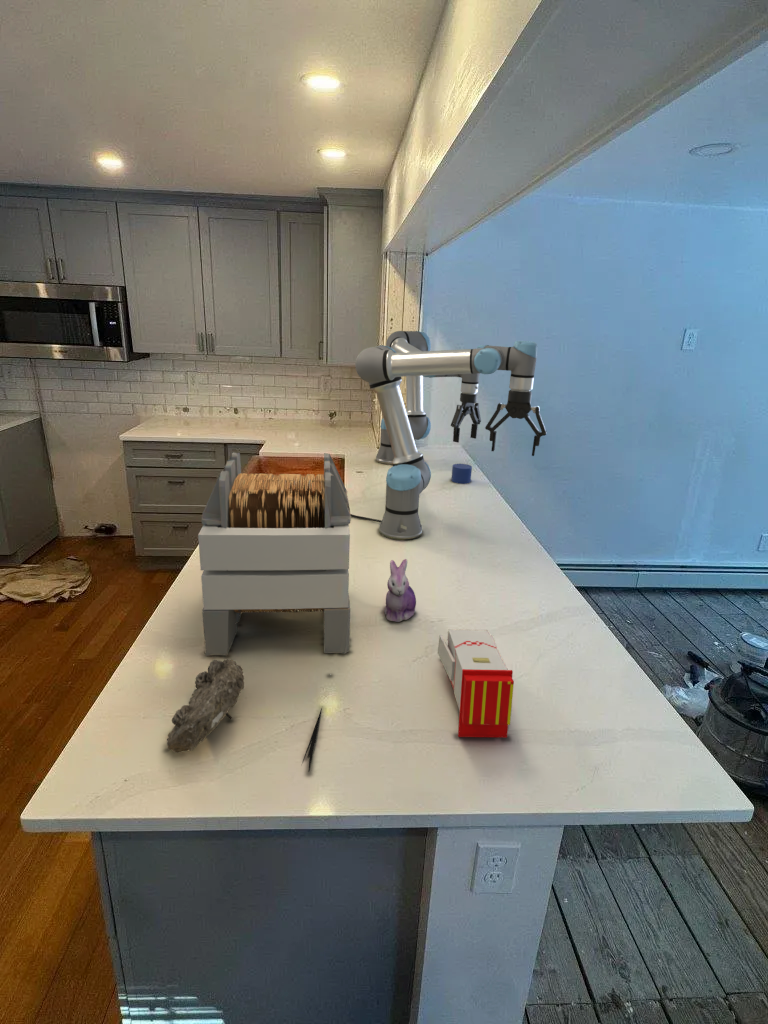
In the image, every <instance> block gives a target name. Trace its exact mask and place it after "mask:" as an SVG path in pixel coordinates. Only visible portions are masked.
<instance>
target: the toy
mask: <svg viewBox="0 0 768 1024" xmlns="http://www.w3.org/2000/svg"><path fill="white" fill-rule="evenodd" d="M446 640H447V643H446V641H445V639H444V636H443V635H442V634H439V637H438V646H437V656H438V657H439V659H440V661H441V663H442V666H443V668H444V670H445V672H446V674H447V677H448V679H449V681H450V684H451V687H452V690H453V693H454V697H455V701H456V705H457V708H458V711H459V714H458V715H459V716H458V730H457V731H458V732H457V737H458V738H508V731H509V726H510V725H511V717H512V707H513V697H514V696H513V695H514V684H515V680H514V679H513V673H514V671H513V670H512V669H508V667H507V665H506V662H505V661H504V659H503V658H502V655H501V653H500V651H499V649H498V647H497V643H496V639H495V637H494V635H493V634H491V632H490V631H489V629H467V628H466V629H465V628H463V629H461V628H460V629H459V628H448V630H447V639H446Z"/></svg>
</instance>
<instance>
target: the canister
mask: <svg viewBox="0 0 768 1024" xmlns="http://www.w3.org/2000/svg"><path fill="white" fill-rule="evenodd" d="M451 467H452V468H451V469H452V470H451V479H450V480H451V482H452V483H456V484H461V485H463V484H466V485H467V484H470V483H471V481H472V471H473V466H472V465H470V464H467V463H454V464H452V466H451Z"/></svg>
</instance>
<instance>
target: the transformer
mask: <svg viewBox="0 0 768 1024" xmlns="http://www.w3.org/2000/svg"><path fill="white" fill-rule="evenodd" d="M241 463H242V462H241V453H240V452H235V451H233V452H231V455H230V457H229V459H227V460H226V463H225V466H224V468H223V470H222V471H220V474H219V475H218V477H217V479H216V482H215V483H214V486H213V489H212V491H211V494H210V495H209V498H208V499H207V502H206V505H205V507H204V509H203V511H202V514H201V517H200V520H201V524H202V527H201V529H200V530H199V532H198V535H197V538H198V550H199V552H198V553H199V563H200V565H199V567H200V571H202V573H201V575H200V580H201V581H200V582H201V594H202V605H203V607H202V609H201V610H202V611H201V617H202V629H203V638H204V639H203V640H204V649H205V650H204V651H205V652H204V655H205V656H206V657H212V656H228V654H229V652H230V650H231V647H232V645H233V643H234V640H235V638H236V635H237V632H238V623H240V620H241V617H242V614H244V613H250V614H251V613H253V614H254V613H257V614H258V613H298V612H301V613H302V612H308V613H309V612H322V614H323V654H344V655H346V654H347V653H349V652H350V639H351V604H350V595H349V594H350V593H349V586H350V585H349V584H350V572H349V571H350V570H349V569H350V549H351V548H350V547H351V545H350V542H351V533H350V532H351V531H350V526H349V525H350V524H351V520H352V517H351V515H350V514H351V509H350V502H349V496H348V490H347V488H346V486H345V484H344V482H343V480H342V478H341V474H340V473H339V471H338V469H337V466H336V465H335V462H334V460H333V458H332V455H331V454H330V453H326V452H324V453H323V473H322V474H321V473H318V474H316V475H315V474H314V473H306V474H303V475H302V474H301V473H280V474H273V473H244V472H243V473H242V466H241Z"/></svg>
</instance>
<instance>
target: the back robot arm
mask: <svg viewBox="0 0 768 1024" xmlns="http://www.w3.org/2000/svg"><path fill="white" fill-rule="evenodd" d="M431 345H432V344H431V339H430V337H429V335H428V334H427V332H424V331H418V330H397V331H394V332H392V333H391V334H389V336H387V339H386V342H385V346H388V347H390V348H392V349H394V350H395V351H396V352H397V353H403V352H422V351H431V347H432V346H431ZM480 374H481V373H478V374H450V375H427V376H405V387H406V388H405V389H406V391H405V392H406V393H405V394H406V395H405V397H406V412H407V416H408V419H409V423H410V426H411V430H412V434H413V437H414V441H415V440H416V441H418V440H423V439H426V438H427V437H428V435H429V434H430V432H431V428H432V423H431V420H430V418H429V417H428V416H427V413H426V412H425V410H424V378H430V379H432V378H461V384H460V396H459V401H460V402H461V404H457V405H456V409H455V412H454V415H453V417H452V420H451V423H450V427H451V428H453V432H452V433H453V436H452V442H454V443H457V444H458V443H460V434H461V433H460V432H461V428H460V427H461V424H462V422H463V420H464V419H465V417H466V416H467V415H469V417H470V419H471V421H472V423H471V428H470V438H471V439H474V440H476V439H477V435H478V434H477V433H478V426H479V425H481V422H482V418H481V412H480V403H479V402H478V392H479V384H480V383H479V382H480ZM379 435H380V438H379V439H380V440H379V448H378V451H377V453H376V455H375V461H376V463H379V464H381V465H387V466H393V465H392V461H393V459H394V453H393V450H392V446H391V443H390V439H389V436H388V433H387V429H386V426H385V422H384V419H383V418H381V421H380V434H379Z"/></svg>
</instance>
